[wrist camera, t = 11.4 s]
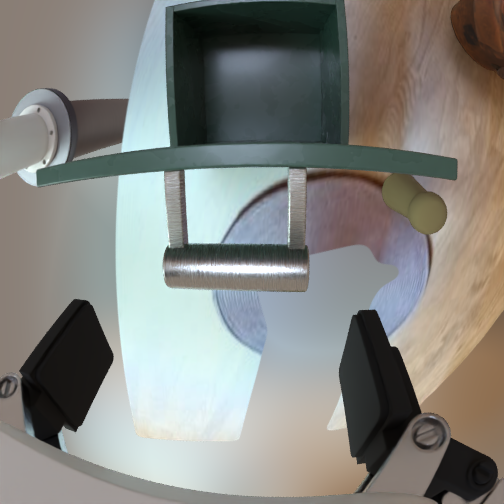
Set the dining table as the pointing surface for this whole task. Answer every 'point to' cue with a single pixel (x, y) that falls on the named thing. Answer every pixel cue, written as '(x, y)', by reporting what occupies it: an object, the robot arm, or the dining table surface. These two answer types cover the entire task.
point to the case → (481, 31)
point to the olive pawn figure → (414, 203)
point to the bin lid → (244, 155)
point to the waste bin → (257, 72)
